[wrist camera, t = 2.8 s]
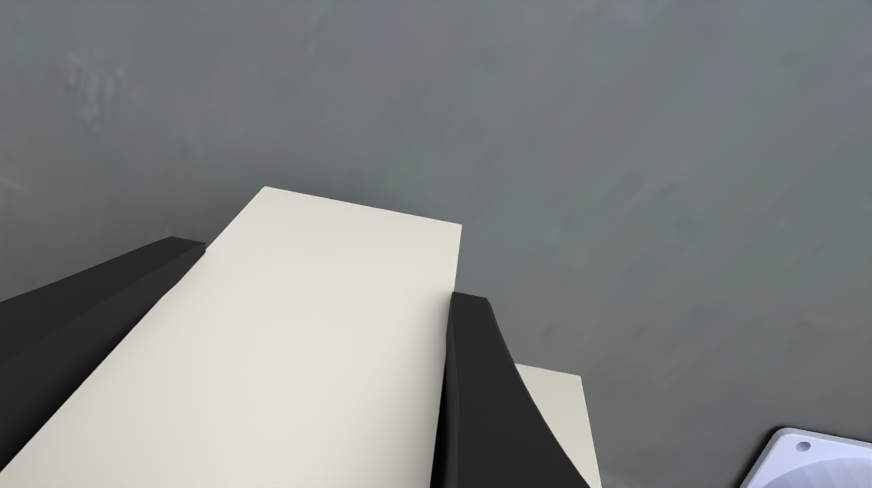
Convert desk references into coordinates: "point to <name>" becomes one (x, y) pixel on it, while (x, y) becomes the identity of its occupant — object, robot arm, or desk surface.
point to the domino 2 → (564, 415)
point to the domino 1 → (272, 362)
